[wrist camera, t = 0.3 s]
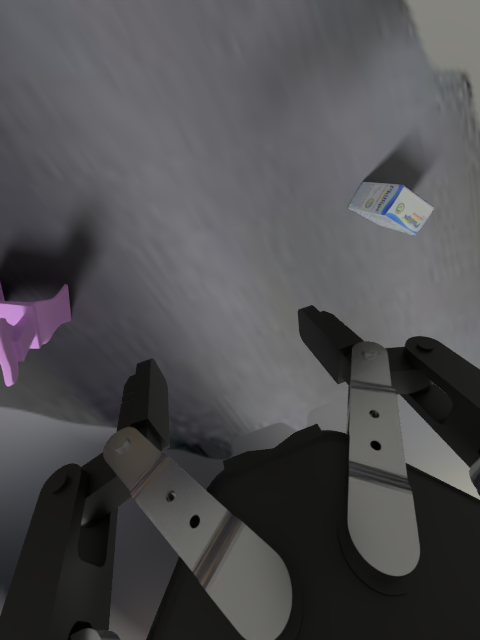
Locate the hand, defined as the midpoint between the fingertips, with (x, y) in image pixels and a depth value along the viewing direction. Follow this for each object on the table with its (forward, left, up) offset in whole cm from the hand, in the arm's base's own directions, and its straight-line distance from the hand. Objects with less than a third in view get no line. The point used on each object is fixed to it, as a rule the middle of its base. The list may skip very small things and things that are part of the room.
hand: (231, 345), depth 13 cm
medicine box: (+2, +32, -29) cm, 43 cm away
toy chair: (+5, -24, -29) cm, 38 cm away
